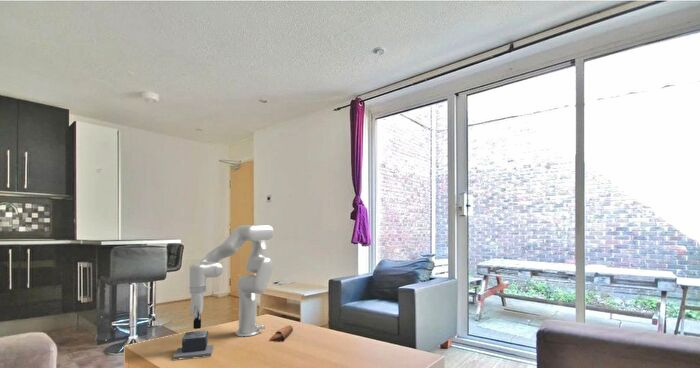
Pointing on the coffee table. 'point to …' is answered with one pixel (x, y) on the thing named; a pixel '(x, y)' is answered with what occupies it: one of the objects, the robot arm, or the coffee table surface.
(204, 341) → the small box
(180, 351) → the rubber pad
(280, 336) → the sunglasses case
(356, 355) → the coffee table surface
